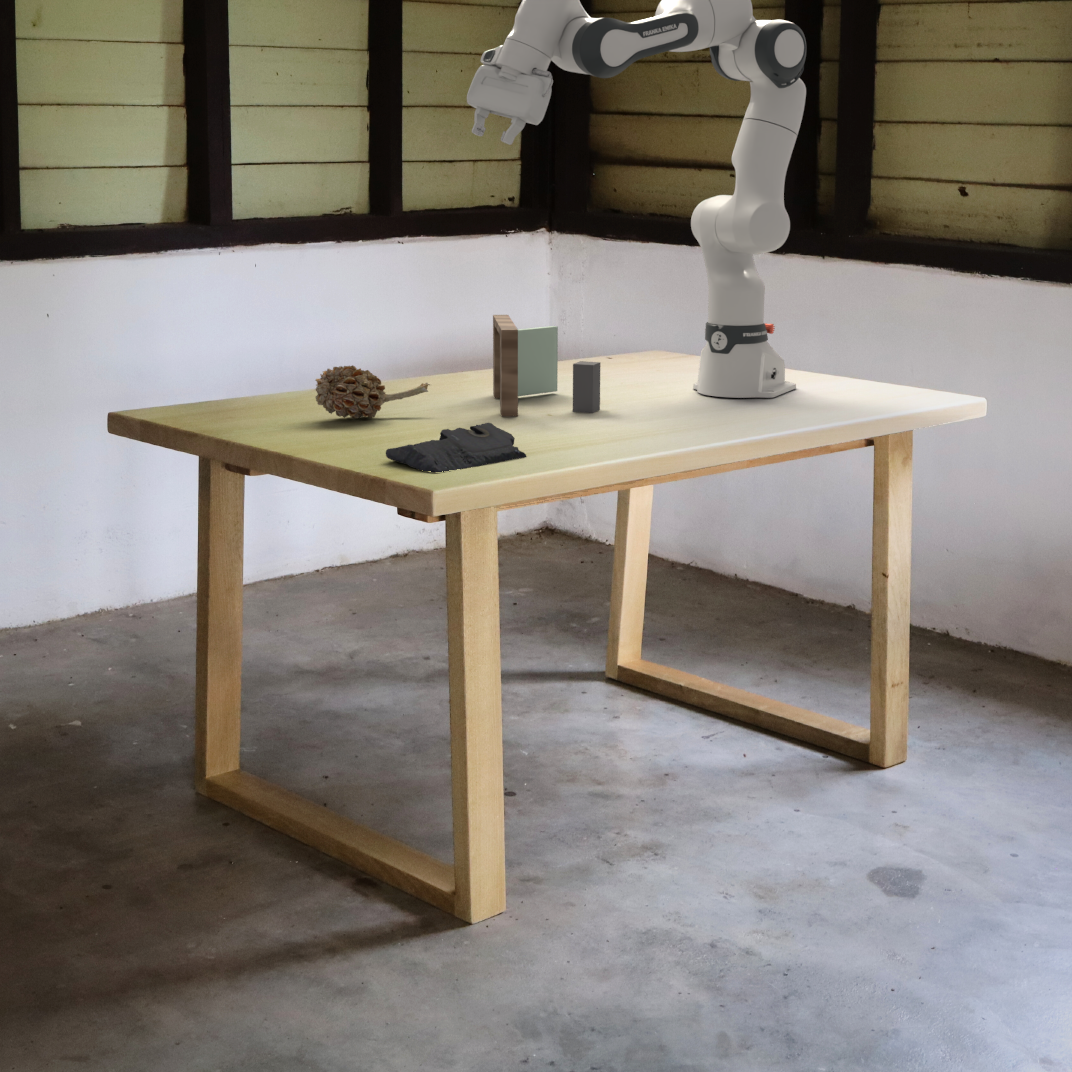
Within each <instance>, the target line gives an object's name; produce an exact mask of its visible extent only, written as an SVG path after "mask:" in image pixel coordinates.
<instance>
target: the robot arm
mask: <svg viewBox="0 0 1072 1072" xmlns="http://www.w3.org/2000/svg"><path fill="white" fill-rule="evenodd" d="M753 12H754V11H753V4H752V0H660V2H659V3H658V5H657V7H656V11H655V13H654V16H653V17H652V16H651V17H647V18H644V19H639V20H635V21H632V22H626V21H623V20H620V19H616V18H613V17H591V16H590V15H589V13H587V11H586V10H585V8H584V7H583V5H582V3H581V1H580V0H521V3H520V5H519V7H518V10H517V12H516V14H515V17H514V24H513V27H512V29H511V30H510V32H509V34H507V36H506V38H505V41H504V42H503V44H501V45H499V46H497V47H495V48H492V49H488V50H485V51H484V52H483V53H482V55H481V57H480V63H481V64H482V65H480V66H479V67H478V68H477V70H476V72H475V73H474V76H473V78H472V80H471V83H470V85H469V88H468V92H467V95H466V102H467V104H468V105H469V106H471V107H472V108H474V109H475V110H474V115H473V116H474V119H473V120H474V124H473V126H472V129H471V133H472V134H474V135H475V136H478V137H483V136H484V134H485V131H486V129H487V128H486V127H485V122H486V119H488V117H489V115H490V114H493V115H496V116H500V117H504V118H507V119H508V118H509V119H511V121H510V126H509V127H508V128H507V130H506V131H505V130H503V132H502V134H501V136H500V141H501V142H502V143H504V144H506V145H510V146H512V145H513V143H514V140H515V138H516V137H517V136H518V135H519V134H520V133H521V132H522V131H523V129H524V128H525V126H526V123H527V124H531V125H535V126H538V125H539V124H541V122H543V120H544V118H545V115H546V112H547V109H548V106H549V103H550V99H551V96H552V92H553V91H552V86H553V83H554V80H553V74H552V73H551V72H550V71H548V69H549V66H550V64H551V62H552V63H553V64H555V66H557V67H558V68H560V69H562V70H563V71H567V72H570V73H576V74H583V75H590V76H591V77H596V78H599V79H609V78H614V77H615V76H617V75H619V74H621V73H622V72H624V71H625V70H626V69H627V68H628V67H629V66H631V65H632V64H633V63H635V62H637V61H638V60H641V59H644V58H648V57H652V56H655V55H658V54H661V53H665V52H675V53H684V52H693V51H698V50H699V51H700V50H704V49H707V48H709V54H710V55H709V56H710V61H711V63H712V67H713V68H714V70H715V71H716V73H718V75H720V76H722V77H723V78H724V79H727V80H730V81H735V82H740V81H741V82H742V81H743V82H745V81H746V82H749V86H750V100H749V103H748V105H747V108H746V111H745V113H744V114H745V115H744V117H743V119H742V123H741V125H740V129H739V131H738V135H737V137H736V141H735V144H734V148H733V151H732V155H731V163H732V166H733V167H734V171H735V185H734V192H733V194H732V195H729V194H719V195H715V196H712V197H708V198H706V199H704V200H702V201H701V202H699V203H698V204H697V205H696V207H694V209H693V212H692V213H691V214H692V215H691V219H690V227H691V228H690V229H691V232H692V235H693V237H694V238H695V239H696V240H697V242H698V245H699V246H700V250H701V254H702V256H703V261H704V265H705V270H706V275H707V276H706V277H707V282H708V283H707V284H708V287H707V288H708V295H707V296H708V300H707V301H708V303H707V305H708V306H707V307H708V308H707V309H708V310H707V322H706V323H705V328H704V341H705V340H706V343H705V346H704V347H703V348H702V349H701V351H700V358H699V365H698V366H699V367H698V375H697V382H694V383H693V384H692V385H693V386H692V388H693V389H694V390H697V391H696V392H697V393H699V394H700V395H705V396H712V397H719V398H738V399H739V398H740V399H742V398H743V399H745V398H746V399H747V398H749V399H750V398H763V399H765V398H766V399H767V398H768V399H769V398H770V399H772V398H776V397H779V396H780V395H783V394H785V393H788V392H790V391H792V390H795V389H797V384H796V383H795V382H791V381H787V380H786V379H785V378H786V375H785V374H786V367H785V360H784V359H783V357H782V356H781V355H780V354H779V353H778V352H777V351H776V350H775V349H774V348H773V347H772V346H771V344H769V342H768V341H769V337H768V334H769V335H772V334H774V332H775V327H776V326H775V325H774V323H764V318H765V317H764V316H765V315H764V314H765V294H766V292H765V289H766V288H765V282H764V280H763V278H762V277H761V275H760V274H759V272H758V270H757V266H756V264H755V259H754V256H755V255H757V256H758V255H763V254H767V253H770V252H774V251H776V250H777V249H780V248H781V247H782V246H783V245H784V244H785V243H786V241H787V239H788V237H789V234H790V231H791V220H790V216H789V214H788V212H787V209H786V207H785V200H784V199H785V197H784V196H785V195H784V193H785V182H786V176H787V171H788V168H789V165H790V161H791V158H792V154H793V150H794V148H795V144H796V141H797V138H798V135H799V131H800V128H801V125H802V124H801V123H802V120H803V116H804V111H805V106H806V97H807V87H806V84H805V83H804V81H803V80H802V79H801V76H802V74H803V72H804V70H805V62H806V59H807V58H806V57H807V41H806V37H805V34H804V31H803V30H802V29H801V27H800V26H799V25H797V24H795V23H794V22H791V21H789V20H784V19H780V18H779V19H772V20H771V19H756V17H755V16H754V15H753ZM785 380H786V381H785Z"/></svg>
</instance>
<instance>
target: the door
mask: <svg viewBox="0 0 1072 1072" xmlns="http://www.w3.org/2000/svg"><path fill="white" fill-rule="evenodd" d="M558 328H559V326H555V325H551V326H541V327H539V326H538V327H531V328H520V329H518V328H517V329H518V397H522V396H523V397H525V396H532V395H541V394H546V393H554V392H558V374H559V373H558V358H559V354H558V353H559V351H558V347H559V344H558V343H559V339H558V338H559V337H558V336H559V333H558V332H559V329H558Z"/></svg>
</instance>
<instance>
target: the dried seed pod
mask: <svg viewBox="0 0 1072 1072" xmlns="http://www.w3.org/2000/svg"><path fill="white" fill-rule="evenodd" d="M332 367H333V368H332V369H331V368H327V369H326V370H324V371H322V373H320V378H315V380H314V381H316V384H315V387H316V388H315V392H316V395H315V401H316V402H317V405H318V406H322V408H324V409H325V411H326V412H328V414H330V415H332V414H333V413H335V416H337V417H340V418H341V417H343V418H347V417H348V416H349V417H350V418H351V419H352V420H355V419H358V418H359V419H361V418H363V417H364V418H369V419H372V418H375V417H376V415H377V413H378V412H380V411H381V409H382V405H384V403H388V402H392V401H397V400H403V399H405V398H410V397H413V396H416V395H417V396H418V395H420V394H423V393H428V392H429V391H428V387H429V386H431V384H429V383H428V382H425V383H421V384H420V385H418V386H417V387H414V388H411V389H408V390H404V391H401V392H396V393H394V392H393V393H388V394H386V393H387V392H385V391H384V390H386V385H383V384H382V380H381V379H380V378H379V377H378V376H377V375H375V374H373V373H372V372H371V371H370V370H368V369H367V370H364V369H363V370H362V368H357V367H356V366H355V365H344V366H342V365H340V366H332Z"/></svg>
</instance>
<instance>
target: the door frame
mask: <svg viewBox="0 0 1072 1072" xmlns="http://www.w3.org/2000/svg"><path fill="white" fill-rule="evenodd" d="M492 360H493V361H492V363H493V364H492V371H493V373H492V374H493V376H492V385H493V386H492V387H493V388H492V391H493V392H492V395H493V398H494V399H500V400H499V401H500V402H499V404H500V405H499V406H500V407H499V413H500V416H501V417H508V418H509V417H519V396H518V328H517V326H516V324H515V322H514V321H513V320H512V318H511V317H510V316H509V314H493V315H492Z"/></svg>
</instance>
